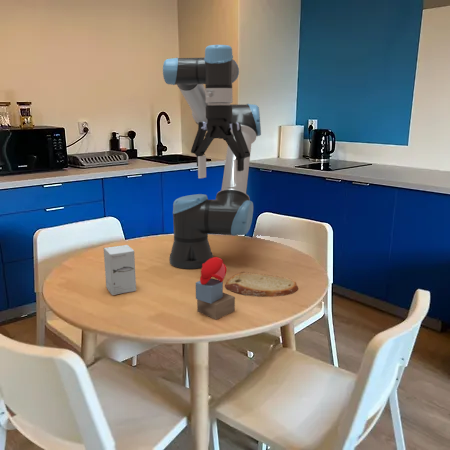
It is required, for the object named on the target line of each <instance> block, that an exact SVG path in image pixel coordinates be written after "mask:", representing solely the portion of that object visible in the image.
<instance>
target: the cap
mask: <svg viewBox="0 0 450 450" xmlns="http://www.w3.org/2000/svg"><path fill="white" fill-rule="evenodd" d="M227 268H228V267H227V265H226V263H224V259H222V258H220V257H219V256H218V257H217V256H213V258H210V259H209V260H207V261H206V262H205V263H203V264H202V268H201V269H200V279H199V281H200V283H201V284H202V285H204V284H206V283H207V282H208V281H209V280H210V279H211V278H213V279H216V280H220V282H222V281H223V282H224V279H225V278H226V274H227V272H228V271H227V270H228V269H227Z"/></svg>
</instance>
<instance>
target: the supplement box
mask: <svg viewBox="0 0 450 450" xmlns="http://www.w3.org/2000/svg"><path fill="white" fill-rule="evenodd" d="M103 258H104V259H103V260H104V261H103V262H104V271H105V273H104V276H105V286H106V287H105V288H106V289H107V290H108V292H109V294H110V295H111V296H115V295H119V294H126V293H133V292H136V291H137V281H136V280H137V279H136V278H137V277H136V276H137V275H136V261H135V260H136V258H135V250H134V249H133V248H132V247H130V246H129V245H128V244H124V245H118V246H117V245H115V246H109V247H104V248H103Z"/></svg>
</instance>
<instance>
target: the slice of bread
mask: <svg viewBox="0 0 450 450" xmlns="http://www.w3.org/2000/svg"><path fill="white" fill-rule="evenodd" d="M224 288H225V290H227V291H232V292H233V293H235V294H238V295H241V296H248V297H250V296H251V297H259V298H260V297H269V298H270V297H271V298H273V297H283V296H289V295H292V294H294V293H295V294H296V293H297V292H298V290H299V286H298V284H297V282H296V281H295V280H293V279H291V278H287V277H283V276H278V275H273V274H272V275H271V274H263V273H251V272H245V271H241V273H239V272H238V273H237V274H235V275H232V276H231V277H230V278H228V279H227V281H226V282H225V284H224Z"/></svg>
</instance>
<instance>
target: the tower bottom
mask: <svg viewBox="0 0 450 450" xmlns="http://www.w3.org/2000/svg"><path fill="white" fill-rule="evenodd" d="M235 300H236V296H233V295H231V294H229V293H226V292H223V297H222V298H221V299H219V300H217V301H215V302H213V303H211V304H210V303H207V302H204V301H201V300H198V299H196V301H197V302H196V303H197V305H196V306H197V308H196V311H197V313H200V314H203V315H205V316H207V317H208V318H210V319H213V320H215V321H217V320H219V319H221V318H222V317H225V316H228V315H230V314H232V313H234V312H235V310H236V308H235V307H236V305H235V304H236V303H235V302H236V301H235Z"/></svg>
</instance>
